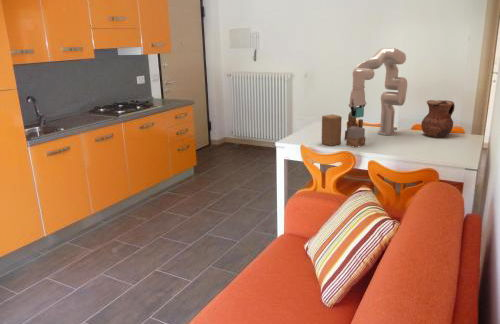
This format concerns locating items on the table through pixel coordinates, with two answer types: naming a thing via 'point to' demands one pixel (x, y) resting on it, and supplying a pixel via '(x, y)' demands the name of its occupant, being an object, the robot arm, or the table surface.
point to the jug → (438, 118)
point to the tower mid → (356, 132)
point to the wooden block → (331, 129)
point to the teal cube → (358, 112)
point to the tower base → (355, 141)
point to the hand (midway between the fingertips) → (357, 115)
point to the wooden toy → (353, 123)
